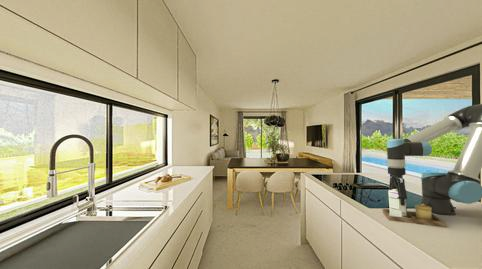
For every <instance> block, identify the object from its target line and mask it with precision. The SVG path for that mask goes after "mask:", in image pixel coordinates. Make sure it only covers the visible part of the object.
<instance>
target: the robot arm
mask: <svg viewBox="0 0 482 269" xmlns="http://www.w3.org/2000/svg"><path fill="white" fill-rule="evenodd" d="M466 128H471V129H470V132H469V133H468V136H467V138H466V141H465V143H464V145H463V147H462V150H461V151H460V154H459V156H458V157H457V158H458V159H457V161H456V163H455V165H454V168H453V169H452V170H449V171H447V172H428V171H427V172H421V173H422V174H421V178H420V180H421V196H422V197H421V199H420V201H419V205H421V204H425V205H426V206H429V207H431V208H432V210H431V214H433V215H439V216H447V217H450V216H451V217H452V216H456V213H457V212H456V209H455V207H454V205H453V203H452V201H454V202H457V203H462V204H467V205H468V204H469V205H470V204H475V203H477V202H479V201H480V200H482V185H481V181H482V180H481V179H480V178H479V174H480V173H481V171H482V103H479V104H471V105H467V106H466V107H463V108H461V109H458V110H456V111H454V112H453V113H449V114H448V115H446V116H445V117H444V118H443V120H442V119H441V121H438V122H436V123H434V124H432V125H430V126H428V127H426V128H424V129H422V130H420V131H418V132H416V133H413V134H411V135H409V136H407V137H405V138H388V139H387V141H386V156H387V158H386V159H387V160H386V163H387V173H388V175H389V185H388V186H389V187H388V191H389V190H393V189H397V192H398V196H399V197H397V198H398V207H399V211H401V212H406V205H407V204H406V205H405V199H406V200H408V196H407V195H408V194H407V190H406V189H407V188H406V183H405V178H402V176H405V175H406V174H407V173H406V157H426V156H427V157H428V156H430V155H431V154H432V151H433V147H432V145H431V142H432V141H434V140H437V139H438V138H441V137H442V136H445V135H447V134H449V133H452V132H453V131H460V130H462V129H466ZM429 142H430V143H429Z"/></svg>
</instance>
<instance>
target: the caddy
mask: <svg viewBox="0 0 482 269" xmlns="http://www.w3.org/2000/svg"><path fill="white" fill-rule="evenodd" d="M381 211H382V214H383V215H384V216H385V218H387V220H388V221H391V222H398V223H406V224H407V223H408V224H414V225H415V224H416V225H421V226H422V225H424V226H429V227H431V226H432V227H438V228H439V227H440V228H446V222H444V221H443V219H440V218H439V217H438V216H436V214H432V213H431V214H432V220H423V219H416V211H410V210H407V218H405V217H396V216H390V209H389V208H382V210H381Z"/></svg>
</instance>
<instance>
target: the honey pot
mask: <svg viewBox="0 0 482 269" xmlns="http://www.w3.org/2000/svg"><path fill="white" fill-rule="evenodd" d="M419 204H420V203H419ZM419 204H415V205H414V209H415V212H416V219H423V220H432V213H431V210H432V208H431V207H429V206H426V205H425V204H421V205H419Z"/></svg>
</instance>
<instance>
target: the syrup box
mask: <svg viewBox="0 0 482 269" xmlns="http://www.w3.org/2000/svg"><path fill="white" fill-rule="evenodd" d="M397 197H399V196H398V192H397V189H393V190H389V189H388V207H389V208H388V209H390V216H396V217H405V218H407V211H408V210H407V209H408V207H407V206H408V205H407V199H405V205H406V212H401V211H399V207H398V198H397Z"/></svg>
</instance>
